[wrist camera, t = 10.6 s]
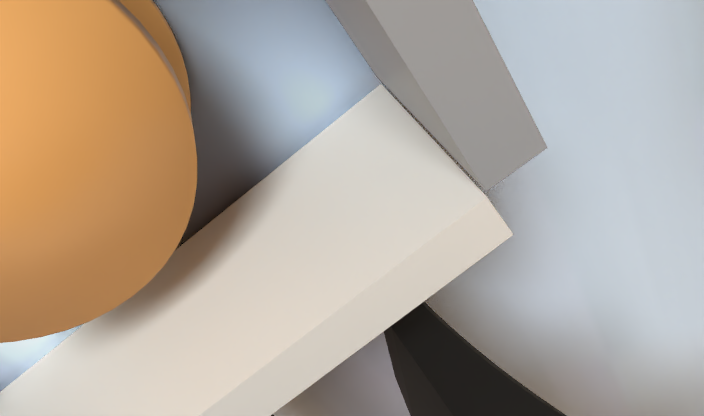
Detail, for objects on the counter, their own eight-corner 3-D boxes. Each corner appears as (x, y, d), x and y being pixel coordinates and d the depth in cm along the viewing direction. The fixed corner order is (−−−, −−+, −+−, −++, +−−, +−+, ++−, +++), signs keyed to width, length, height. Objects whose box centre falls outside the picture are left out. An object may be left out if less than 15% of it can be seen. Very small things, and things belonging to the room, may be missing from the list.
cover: (-90, 442, 11) (-200, 698, 8) (369, 68, 10) (476, 182, 6) (-30, 466, 12) (-107, 712, 8) (406, 119, 10) (522, 246, 7)
